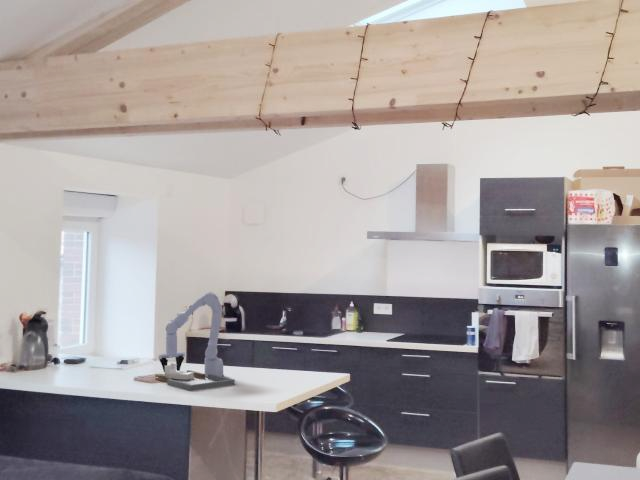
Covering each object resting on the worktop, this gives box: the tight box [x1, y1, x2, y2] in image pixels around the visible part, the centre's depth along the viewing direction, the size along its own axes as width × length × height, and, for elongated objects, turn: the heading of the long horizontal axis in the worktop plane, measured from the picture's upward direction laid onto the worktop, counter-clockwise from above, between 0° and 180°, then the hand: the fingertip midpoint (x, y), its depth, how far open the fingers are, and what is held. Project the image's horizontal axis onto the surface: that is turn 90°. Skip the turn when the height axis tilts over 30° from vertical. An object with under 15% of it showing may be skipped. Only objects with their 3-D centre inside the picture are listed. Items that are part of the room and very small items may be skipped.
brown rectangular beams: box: [154, 369, 206, 383], centre depth 394 cm, size 20×16×2 cm
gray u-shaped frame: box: [166, 374, 236, 392], centre depth 379 cm, size 25×22×2 cm
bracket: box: [164, 363, 195, 381], centre depth 395 cm, size 13×7×8 cm, turn 72°
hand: (171, 371), depth 401 cm, fingers open, 7 cm apart
